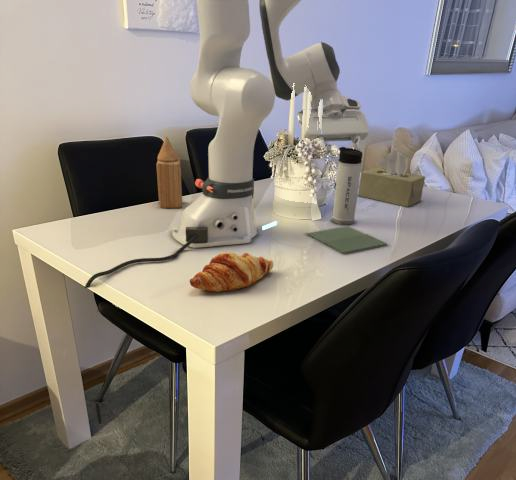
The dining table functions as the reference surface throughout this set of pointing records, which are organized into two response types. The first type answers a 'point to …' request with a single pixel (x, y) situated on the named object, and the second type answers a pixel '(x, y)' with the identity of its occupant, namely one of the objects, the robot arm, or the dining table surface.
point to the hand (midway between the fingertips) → (342, 152)
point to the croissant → (231, 272)
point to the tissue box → (391, 181)
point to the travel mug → (347, 185)
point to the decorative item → (169, 177)
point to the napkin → (347, 240)
